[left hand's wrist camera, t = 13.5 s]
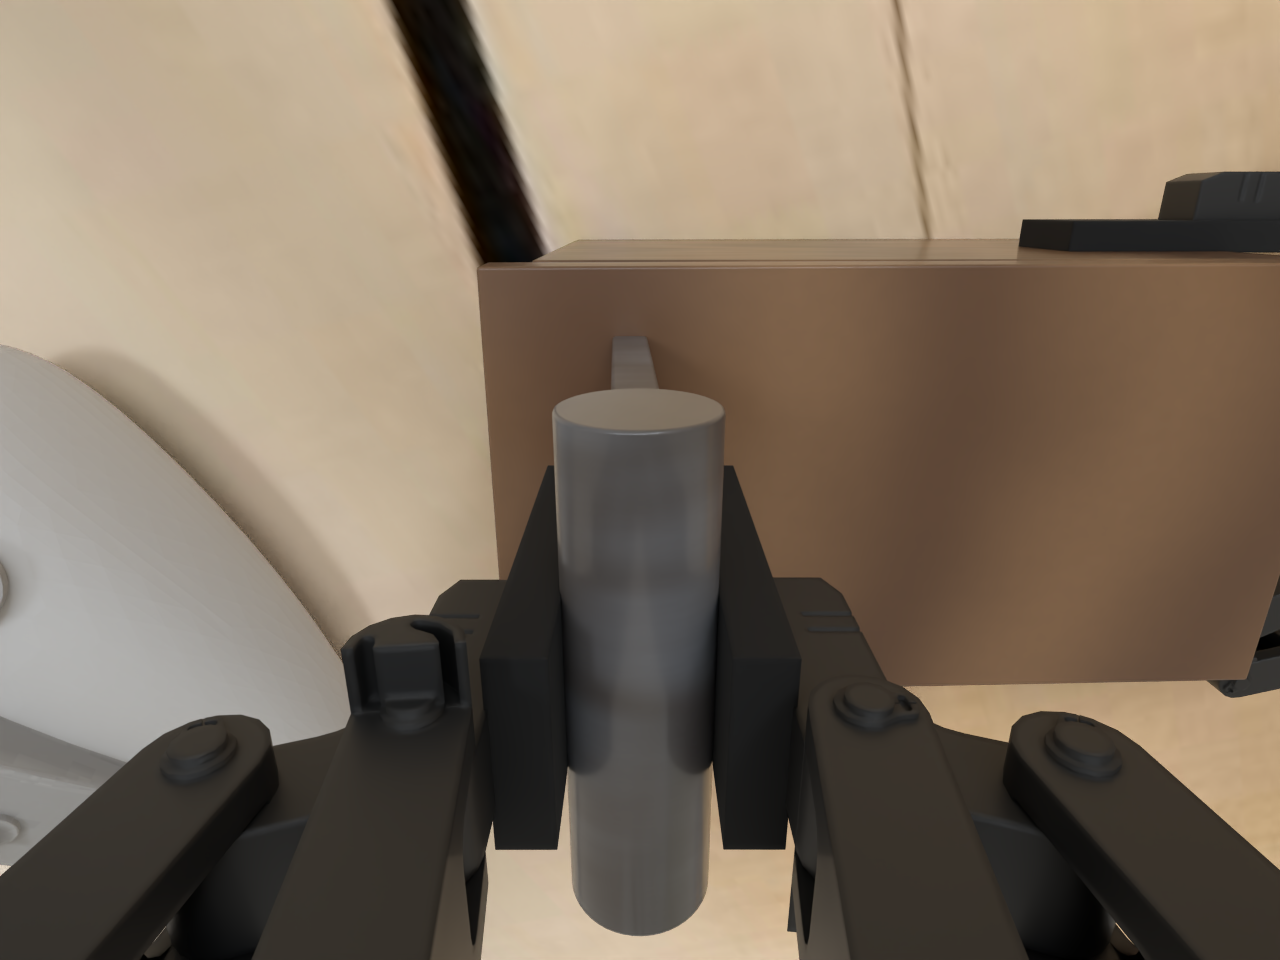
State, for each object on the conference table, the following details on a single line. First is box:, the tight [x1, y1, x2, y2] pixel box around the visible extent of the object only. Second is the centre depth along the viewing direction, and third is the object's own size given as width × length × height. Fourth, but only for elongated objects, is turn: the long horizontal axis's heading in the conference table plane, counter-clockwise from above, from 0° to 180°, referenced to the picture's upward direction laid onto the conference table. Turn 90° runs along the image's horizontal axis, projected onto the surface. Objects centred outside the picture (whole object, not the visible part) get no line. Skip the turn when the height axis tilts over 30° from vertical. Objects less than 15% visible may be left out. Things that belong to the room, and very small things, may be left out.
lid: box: [477, 259, 1280, 936], centre depth 14 cm, size 18×10×8 cm, turn 90°
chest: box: [533, 239, 1280, 262], centre depth 23 cm, size 17×10×11 cm, turn 90°
